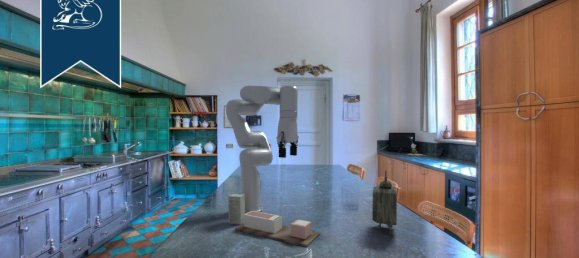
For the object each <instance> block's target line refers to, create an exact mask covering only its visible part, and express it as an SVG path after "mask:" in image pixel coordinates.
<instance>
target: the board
mask: <svg viewBox="0 0 579 258" xmlns="http://www.w3.org/2000/svg"><path fill="white" fill-rule="evenodd" d="M235 231H240V232H243V233H246V234H252V235H255V236H260V237H264V238H269V239H272V240H277V241H281V242H285V243H289V244H293V245H298V246H302V247H306V248H307V247H309V246H310V245H311V244H312V243H313V242H315V240H316V239H317V238H318V237H319V236H320V235H321V234H320V232H315V231H312V230H311V234H310V235H309V236H308V237H307V238H306V239H301V238H297V237H293V236H291V226H287V225H283V224H282V229H280V230H279V231H277V232H276V233H270V232H266V231H262V230H257V229H253V228H248V227H244V223H242V224H239V225H238V226H236V227H235Z"/></svg>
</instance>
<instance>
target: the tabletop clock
mask: <svg viewBox="0 0 579 258" xmlns="http://www.w3.org/2000/svg"><path fill="white" fill-rule="evenodd" d="M387 174H388V172H387V169H384V180H382V181H380V183H379V185H376V186H373V189H372V211H371V212H372V219H371V220H372V221H373V222H375V223H377V224H378V225H377V229H379V230H380V229H382V224H383V225H386V226H387V227H388V229H389V232H388V233H389V235H390V236H393V235H394V234H395V233H394V231H393V230H392V228H391V227H392V226H397V224H398V223H397V220H398V218H397V216H398V215H397V214H398V213H397V212H398V211H397V209H398V204H397V203H398V191H397V186H393V184H392V182H391V181H389V180H388V177H387Z"/></svg>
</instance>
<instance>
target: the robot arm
mask: <svg viewBox="0 0 579 258" xmlns="http://www.w3.org/2000/svg"><path fill="white" fill-rule="evenodd" d="M298 92H299V91H298V88H297V86H294V85H283V86H281V87H276V86H268V85H266V86H265V85H252V84H251V85H250V84H249V85H243V87H242V88H241V89H240V91H239V96H240V98H241V99H237V98H235V99H231V100H229V101H228V102H226V105H225V115H226V117H227V121H228V122H229V124H230V125H231V128H232V129H233V134H234V137H235V140H236V144H237V146H238V147H239V148H240V149H242V150H241V151H240V153H239V156H238V157H239V158H238V159H239V164H240V175H241V178H240V181H241V182H240V183H241V184H240V194H241V195H245V214H246V213H248V212H250V211H257V212H262V211H263V210H264V207H263V206H262V205H261V174H260V172H259V170H258V169H257V168H258V167H265V166H269V165H271V164H272V163H273V160H274V158H273V157H274V156H273V151H272V148H271V146H270V143H269V141H268V137H267V136H266V134H265V133H264V132H263V131H261V130H252V129H251V128H250V126H249V123H248V122H247V120H246V119H245V118H244V117H243V116H251V117H252V116H257V114H258V113H260V110H261V109H262V108H263V107H264V105H276V106H279V119H278V125H277V135H276V142H277V143H276V144H277V148H278V158H282V159H283V158H284V159H285V158H287V147H286V146H287V144H289V155H290V156H293V157H294V156H295V157H296V156H298V145H299V144H298V143H299V138H300V137H299V134H298V122H297V120H298V97H299V96H298Z"/></svg>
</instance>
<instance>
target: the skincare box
mask: <svg viewBox="0 0 579 258" xmlns="http://www.w3.org/2000/svg"><path fill="white" fill-rule="evenodd" d="M227 197H228V199H227V200H228V202H227V203H228V208H227V209H228V224H232V225H233V224H234V225H242V224H244V214H245V195H241V193H239V194H238V193H232V194H229V195H228V196H227Z"/></svg>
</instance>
